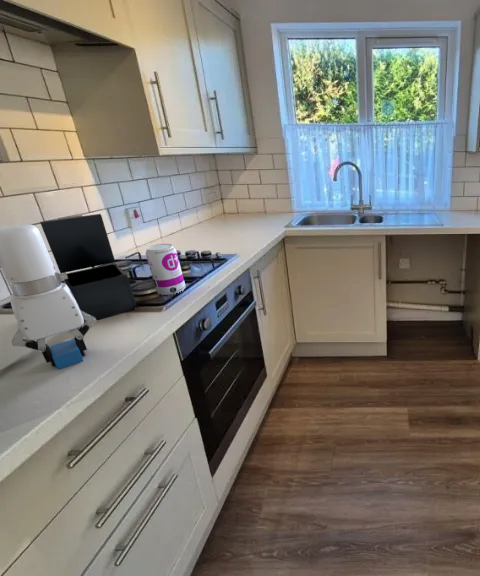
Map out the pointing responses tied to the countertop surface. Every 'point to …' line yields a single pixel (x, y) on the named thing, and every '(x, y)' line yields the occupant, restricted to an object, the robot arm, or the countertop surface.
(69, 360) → the blue rectangular block
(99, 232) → the bin lid
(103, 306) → the bin
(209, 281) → the countertop surface
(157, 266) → the supplement can
